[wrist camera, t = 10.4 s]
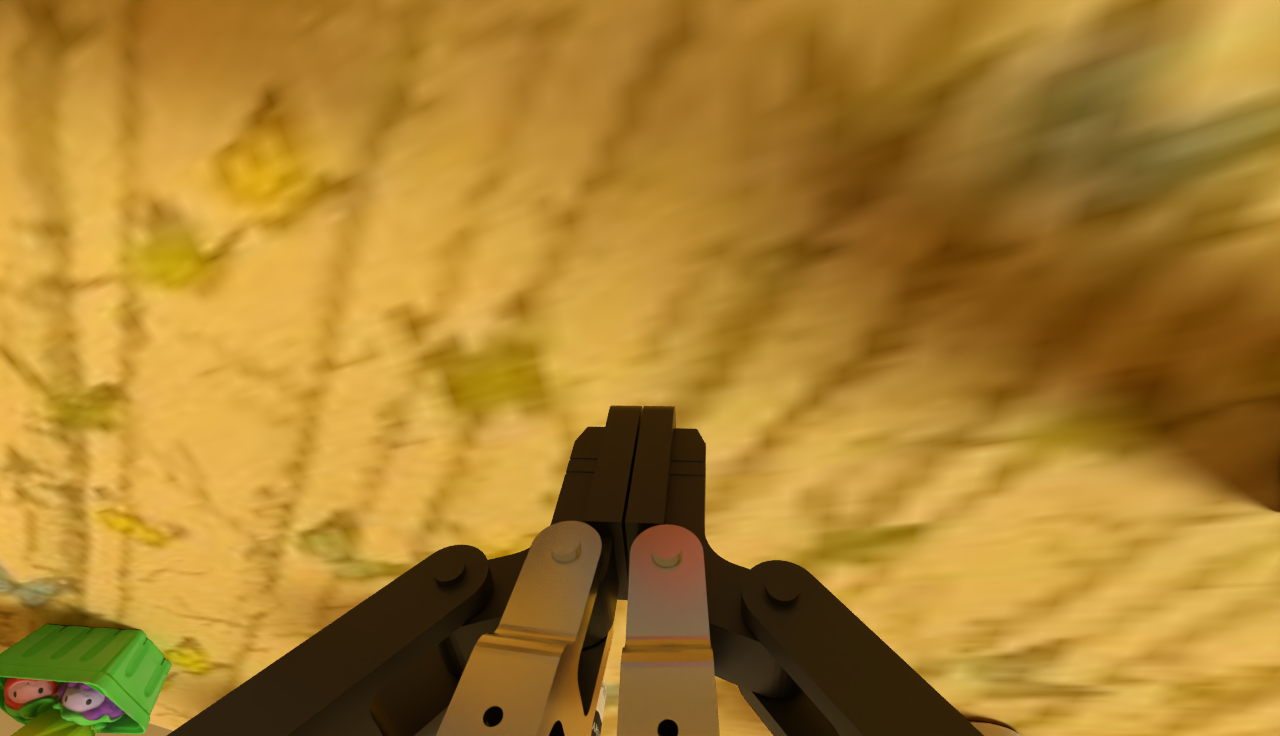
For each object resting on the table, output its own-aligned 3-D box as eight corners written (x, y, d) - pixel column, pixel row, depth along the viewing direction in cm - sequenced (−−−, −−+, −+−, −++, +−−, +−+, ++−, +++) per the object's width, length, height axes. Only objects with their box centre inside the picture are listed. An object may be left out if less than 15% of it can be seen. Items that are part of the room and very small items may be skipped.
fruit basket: (149, 620, 48) (12, 780, 38) (200, 681, 53) (89, 836, 43) (22, 612, 49) (-141, 764, 40) (83, 672, 54) (-49, 821, 45)
